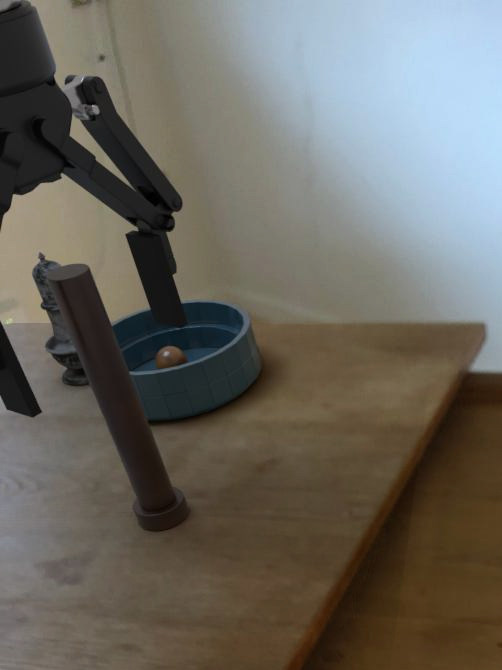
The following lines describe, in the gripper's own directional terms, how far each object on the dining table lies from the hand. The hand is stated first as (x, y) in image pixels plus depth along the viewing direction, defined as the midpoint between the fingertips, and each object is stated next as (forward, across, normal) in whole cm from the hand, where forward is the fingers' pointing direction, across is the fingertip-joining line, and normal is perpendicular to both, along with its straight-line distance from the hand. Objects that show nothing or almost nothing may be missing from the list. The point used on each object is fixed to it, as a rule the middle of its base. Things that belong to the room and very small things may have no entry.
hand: (102, 365), depth 67 cm
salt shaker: (+13, +15, +26) cm, 33 cm away
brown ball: (+11, +17, +15) cm, 25 cm away
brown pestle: (+13, 0, 0) cm, 13 cm away
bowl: (+13, +17, +14) cm, 26 cm away
